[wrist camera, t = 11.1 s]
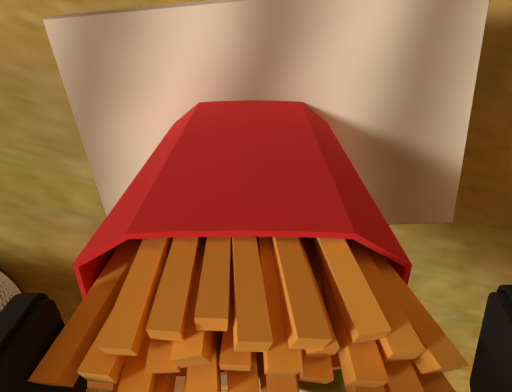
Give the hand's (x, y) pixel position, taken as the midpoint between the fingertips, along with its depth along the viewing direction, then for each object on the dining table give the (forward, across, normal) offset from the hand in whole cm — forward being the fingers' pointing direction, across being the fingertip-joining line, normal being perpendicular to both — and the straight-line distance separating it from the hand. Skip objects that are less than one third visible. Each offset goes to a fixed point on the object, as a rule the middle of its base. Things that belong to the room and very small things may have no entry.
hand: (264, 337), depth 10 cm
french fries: (+10, +1, 0) cm, 10 cm away
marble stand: (+16, 0, -1) cm, 16 cm away
